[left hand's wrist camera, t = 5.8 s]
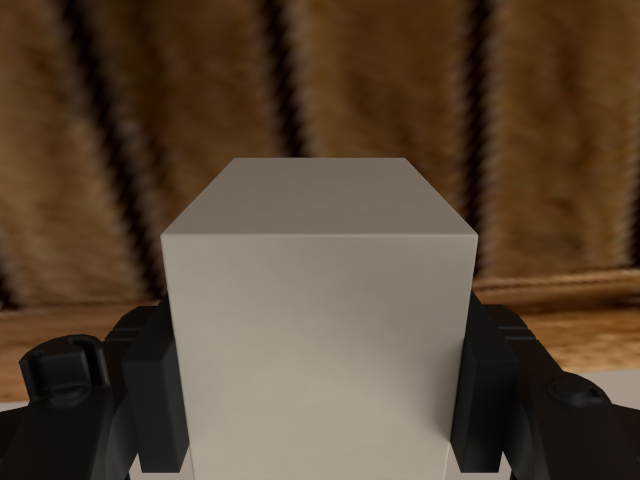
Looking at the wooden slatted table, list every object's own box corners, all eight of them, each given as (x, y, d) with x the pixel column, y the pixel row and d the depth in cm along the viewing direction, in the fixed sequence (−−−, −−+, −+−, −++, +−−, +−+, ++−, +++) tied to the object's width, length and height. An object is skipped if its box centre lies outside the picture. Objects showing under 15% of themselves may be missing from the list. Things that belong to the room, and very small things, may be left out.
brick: (246, 338, 17) (198, 515, 10) (233, 157, 15) (158, 234, 8) (393, 338, 17) (441, 515, 10) (405, 157, 15) (479, 234, 8)
